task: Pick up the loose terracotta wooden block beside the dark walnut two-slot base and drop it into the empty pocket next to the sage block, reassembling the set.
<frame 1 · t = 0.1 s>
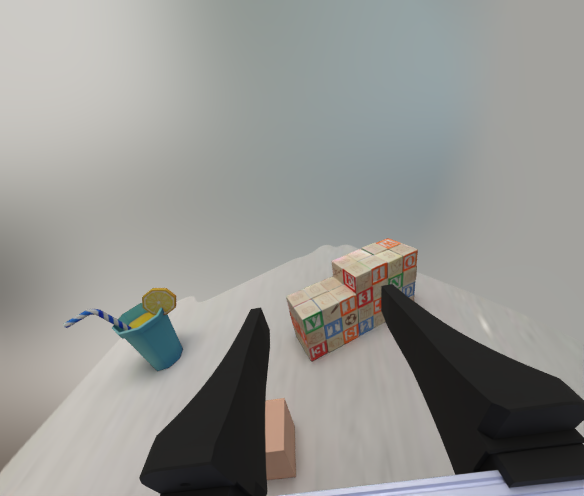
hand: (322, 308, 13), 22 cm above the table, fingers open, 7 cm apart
stack of blocks: (355, 322, 39), on the table
terracotta block: (275, 451, 25), on the table
cup: (163, 360, 40), on the table
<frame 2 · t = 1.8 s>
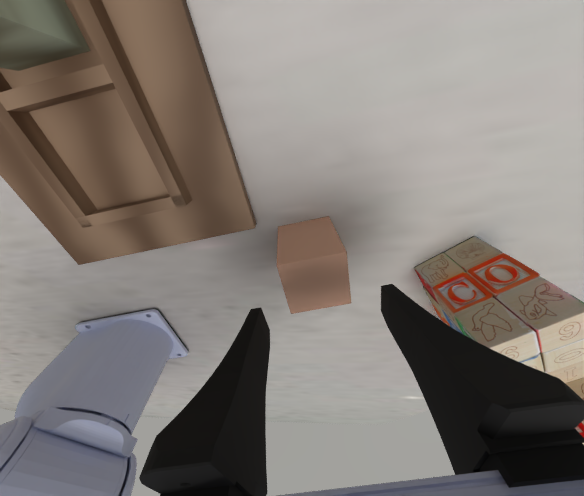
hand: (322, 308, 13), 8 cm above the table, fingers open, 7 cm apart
stack of blocks: (465, 310, 26), on the table
terracotta block: (307, 243, 20), on the table
walnut base: (85, 93, 14), on the table
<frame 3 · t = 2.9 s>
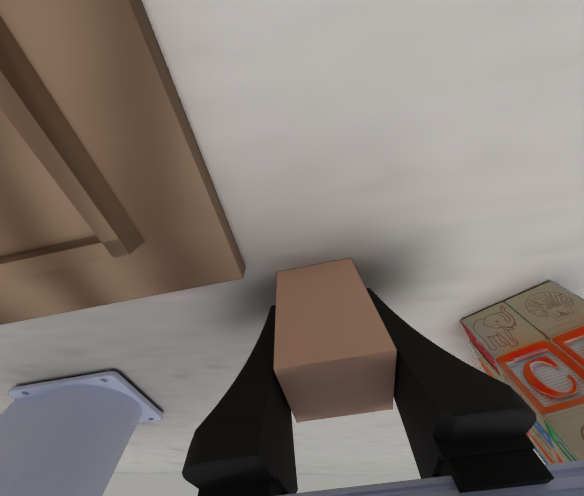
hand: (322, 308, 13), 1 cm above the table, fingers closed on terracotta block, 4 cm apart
stack of blocks: (520, 363, 20), on the table
terracotta block: (318, 292, 14), on the table, touching gripper
when the fingers open (4 cm above the table, at t = 6.6 s): terracotta block drops 1 cm, resting on walnut base.
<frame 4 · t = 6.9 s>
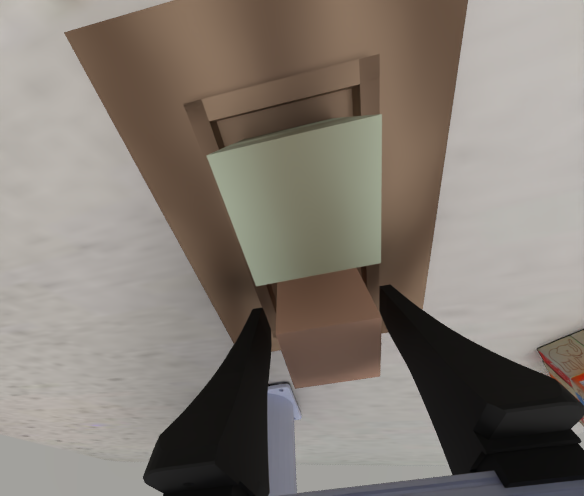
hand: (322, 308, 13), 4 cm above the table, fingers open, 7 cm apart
stack of blocks: (580, 372, 26), on the table
terracotta block: (315, 278, 15), point 1 cm above the table, touching walnut base
walnut base: (305, 227, 14), on the table
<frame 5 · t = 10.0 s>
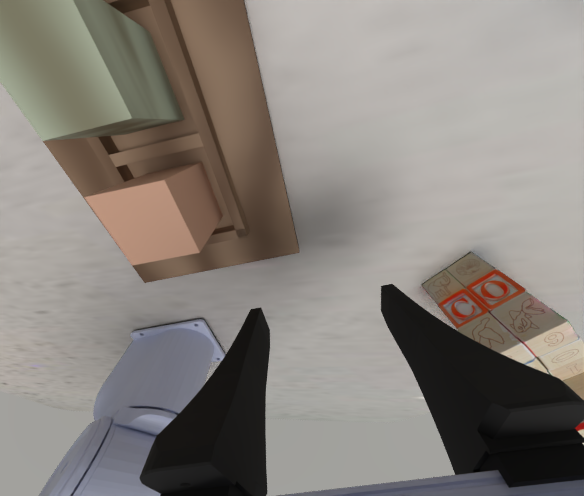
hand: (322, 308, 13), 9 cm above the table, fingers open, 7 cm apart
stack of blocks: (481, 311, 28), on the table
terracotta block: (186, 196, 18), point 1 cm above the table, touching walnut base
walnut base: (170, 147, 17), on the table
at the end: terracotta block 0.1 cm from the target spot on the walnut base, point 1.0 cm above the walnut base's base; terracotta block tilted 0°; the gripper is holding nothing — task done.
